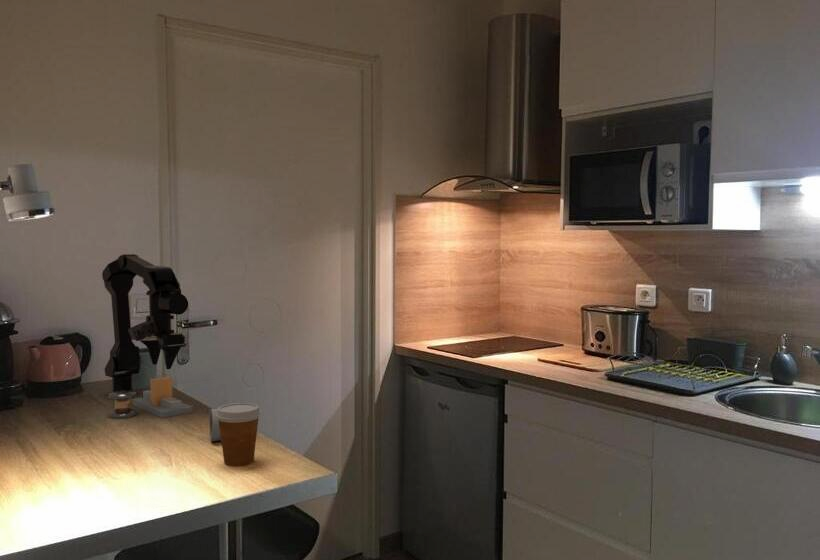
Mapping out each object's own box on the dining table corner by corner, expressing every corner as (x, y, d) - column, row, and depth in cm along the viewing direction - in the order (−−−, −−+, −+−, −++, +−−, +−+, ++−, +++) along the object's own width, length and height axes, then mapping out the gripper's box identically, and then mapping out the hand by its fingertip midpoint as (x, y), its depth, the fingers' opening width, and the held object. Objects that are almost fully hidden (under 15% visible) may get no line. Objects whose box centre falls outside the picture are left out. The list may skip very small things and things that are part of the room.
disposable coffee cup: (213, 458, 156) (212, 404, 155) (255, 452, 160) (255, 400, 159) (220, 471, 147) (219, 415, 146) (265, 465, 151) (265, 410, 150)
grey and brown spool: (105, 414, 192) (104, 393, 192) (130, 410, 197) (130, 389, 196) (114, 419, 187) (114, 397, 186) (140, 415, 192) (140, 393, 191)
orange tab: (150, 403, 198) (150, 379, 198) (167, 400, 202) (167, 376, 201) (155, 405, 196) (154, 380, 196) (172, 402, 200) (172, 378, 199)
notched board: (132, 404, 204) (132, 392, 203) (162, 399, 210) (162, 387, 209) (161, 417, 189) (161, 405, 189) (192, 412, 195) (192, 399, 195)
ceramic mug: (247, 441, 168) (246, 409, 168) (212, 445, 165) (211, 413, 165) (240, 430, 178) (240, 400, 178) (207, 434, 175) (206, 403, 175)
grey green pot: (152, 381, 234) (151, 346, 233) (163, 387, 226) (163, 350, 225) (121, 386, 227) (120, 349, 226) (131, 391, 220) (131, 353, 219)
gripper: (118, 311, 199) (120, 365, 200) (145, 317, 185) (146, 375, 186) (157, 308, 206) (158, 361, 207) (185, 313, 193) (186, 370, 194)
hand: (161, 366), depth 198 cm, fingers open, 9 cm apart
